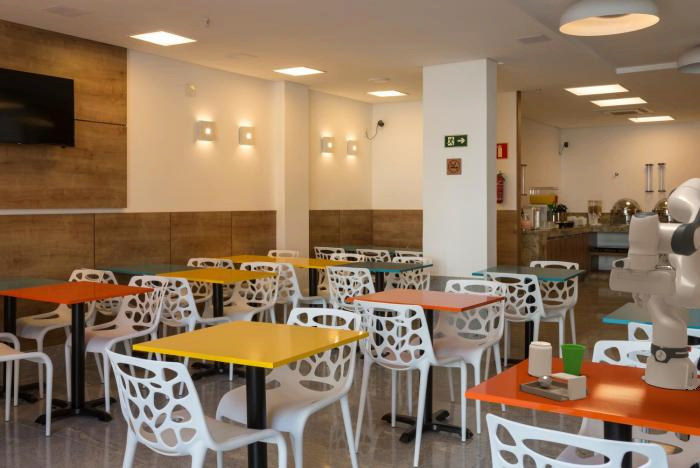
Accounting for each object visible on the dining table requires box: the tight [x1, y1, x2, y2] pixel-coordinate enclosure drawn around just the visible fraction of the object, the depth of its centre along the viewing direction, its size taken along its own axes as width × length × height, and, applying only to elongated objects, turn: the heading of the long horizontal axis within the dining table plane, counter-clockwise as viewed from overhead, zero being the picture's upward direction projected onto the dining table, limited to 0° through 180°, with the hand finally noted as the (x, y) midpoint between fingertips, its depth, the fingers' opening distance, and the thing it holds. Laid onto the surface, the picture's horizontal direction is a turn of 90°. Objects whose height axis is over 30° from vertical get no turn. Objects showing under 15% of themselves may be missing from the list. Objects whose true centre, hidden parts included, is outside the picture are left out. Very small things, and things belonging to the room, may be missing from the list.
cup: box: [560, 343, 587, 376], centre depth 252 cm, size 9×9×11 cm
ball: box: [538, 375, 552, 388], centre depth 233 cm, size 4×4×4 cm
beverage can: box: [528, 340, 553, 378], centre depth 251 cm, size 8×8×12 cm
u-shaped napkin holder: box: [549, 372, 587, 401], centre depth 225 cm, size 7×7×10 cm
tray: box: [518, 378, 590, 402], centre depth 228 cm, size 16×16×2 cm
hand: (640, 308), depth 213 cm, fingers closed
